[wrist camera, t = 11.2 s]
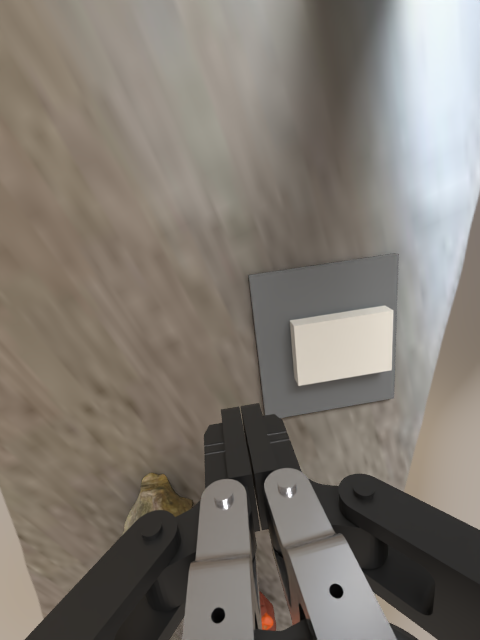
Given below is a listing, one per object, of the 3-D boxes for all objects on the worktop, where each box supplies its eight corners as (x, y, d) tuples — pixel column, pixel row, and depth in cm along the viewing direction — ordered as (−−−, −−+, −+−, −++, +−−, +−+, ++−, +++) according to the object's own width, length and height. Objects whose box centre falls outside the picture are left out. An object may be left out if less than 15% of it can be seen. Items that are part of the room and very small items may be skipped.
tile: (293, 326, 41) (393, 310, 42) (288, 319, 43) (383, 304, 44) (298, 385, 44) (391, 370, 44) (293, 376, 46) (382, 361, 47)
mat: (248, 275, 41) (249, 276, 41) (395, 253, 43) (398, 254, 42) (265, 416, 48) (266, 420, 48) (391, 395, 49) (393, 398, 49)
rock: (200, 459, 49) (126, 456, 48) (197, 532, 40) (106, 530, 39) (189, 545, 57) (126, 545, 56) (185, 623, 48) (109, 624, 47)
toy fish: (218, 568, 57) (223, 654, 47) (278, 574, 59) (296, 657, 49) (200, 617, 61) (201, 707, 50) (258, 621, 63) (270, 708, 52)
